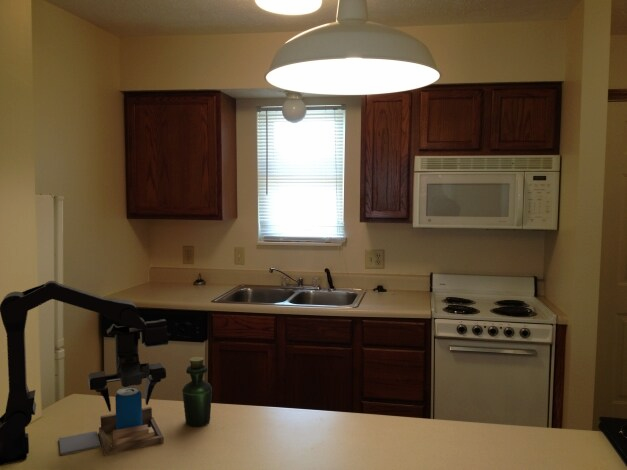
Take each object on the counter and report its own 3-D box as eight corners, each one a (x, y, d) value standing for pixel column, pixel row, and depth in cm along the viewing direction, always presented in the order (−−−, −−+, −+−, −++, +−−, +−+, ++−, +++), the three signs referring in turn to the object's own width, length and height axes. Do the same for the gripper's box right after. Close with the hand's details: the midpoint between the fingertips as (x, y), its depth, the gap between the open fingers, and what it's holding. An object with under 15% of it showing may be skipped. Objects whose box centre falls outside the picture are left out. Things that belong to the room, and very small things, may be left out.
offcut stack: (113, 451, 128) (112, 436, 127) (111, 445, 131) (110, 430, 131) (155, 442, 132) (154, 427, 132) (152, 436, 136) (151, 422, 135)
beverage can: (146, 429, 140) (145, 386, 139) (136, 441, 133) (134, 395, 132) (123, 428, 140) (122, 385, 139) (111, 440, 134) (110, 394, 133)
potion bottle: (206, 429, 140) (205, 364, 138) (178, 427, 141) (176, 362, 140) (216, 417, 148) (215, 355, 146) (189, 415, 149) (188, 353, 148)
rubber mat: (60, 455, 126) (60, 453, 126) (59, 440, 134) (59, 438, 134) (100, 446, 130) (100, 445, 130) (96, 432, 138) (96, 430, 138)
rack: (105, 455, 126) (104, 437, 125) (99, 432, 138) (98, 416, 137) (163, 442, 132) (163, 425, 132) (153, 422, 144) (152, 406, 144)
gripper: (91, 363, 123) (93, 427, 125) (170, 352, 132) (171, 412, 133) (86, 351, 133) (88, 410, 134) (160, 341, 142) (162, 397, 143)
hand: (128, 407), depth 136 cm, fingers open, 9 cm apart
